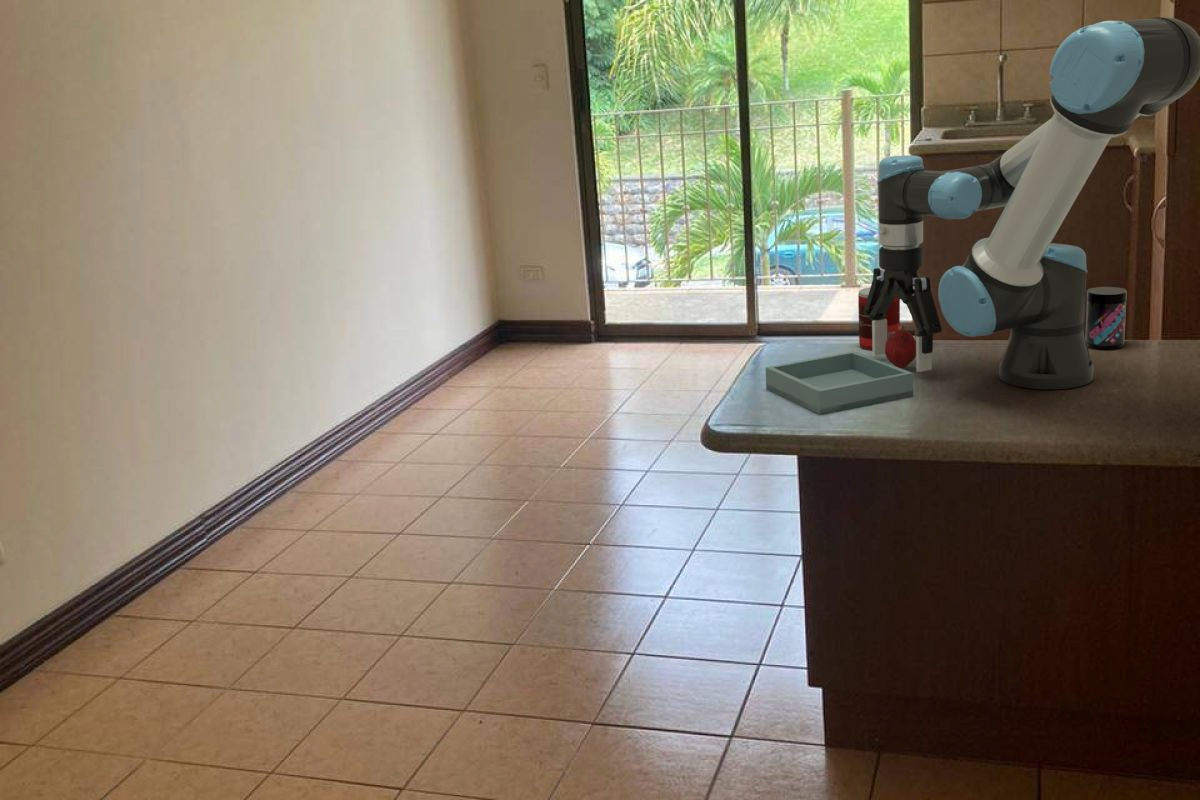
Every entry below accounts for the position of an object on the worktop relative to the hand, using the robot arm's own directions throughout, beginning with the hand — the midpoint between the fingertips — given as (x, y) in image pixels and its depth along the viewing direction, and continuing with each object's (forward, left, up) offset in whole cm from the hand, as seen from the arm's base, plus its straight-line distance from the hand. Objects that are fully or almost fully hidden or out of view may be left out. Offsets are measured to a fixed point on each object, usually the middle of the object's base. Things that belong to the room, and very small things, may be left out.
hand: (901, 362), depth 219 cm
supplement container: (-9, -38, -1) cm, 39 cm away
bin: (-6, +17, -1) cm, 18 cm away
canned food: (+16, -6, -1) cm, 17 cm away
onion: (0, 0, -1) cm, 1 cm away
